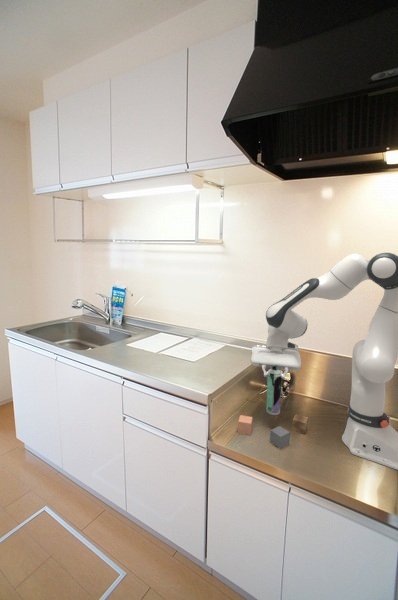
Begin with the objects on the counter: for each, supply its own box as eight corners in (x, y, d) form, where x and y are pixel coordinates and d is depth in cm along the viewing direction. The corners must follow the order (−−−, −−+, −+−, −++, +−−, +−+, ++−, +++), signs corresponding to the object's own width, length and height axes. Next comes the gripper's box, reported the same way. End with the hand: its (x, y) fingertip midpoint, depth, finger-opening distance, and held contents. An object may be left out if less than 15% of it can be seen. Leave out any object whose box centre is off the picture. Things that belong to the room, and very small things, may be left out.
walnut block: (307, 428, 124) (308, 417, 123) (304, 434, 119) (305, 423, 119) (295, 424, 126) (295, 414, 125) (292, 430, 122) (292, 419, 121)
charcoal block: (289, 444, 113) (289, 432, 113) (280, 449, 111) (280, 436, 110) (278, 437, 117) (279, 425, 117) (269, 442, 115) (270, 430, 114)
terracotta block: (252, 428, 124) (252, 417, 123) (250, 435, 119) (251, 423, 118) (239, 426, 125) (240, 415, 124) (238, 433, 120) (238, 421, 119)
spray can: (280, 415, 120) (282, 369, 117) (266, 414, 122) (267, 367, 118) (279, 408, 126) (281, 363, 122) (266, 407, 127) (267, 362, 123)
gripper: (251, 341, 129) (247, 371, 121) (302, 345, 122) (300, 377, 115) (253, 348, 134) (249, 377, 126) (301, 352, 127) (300, 383, 120)
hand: (274, 377), depth 120 cm, fingers closed on spray can, 5 cm apart
